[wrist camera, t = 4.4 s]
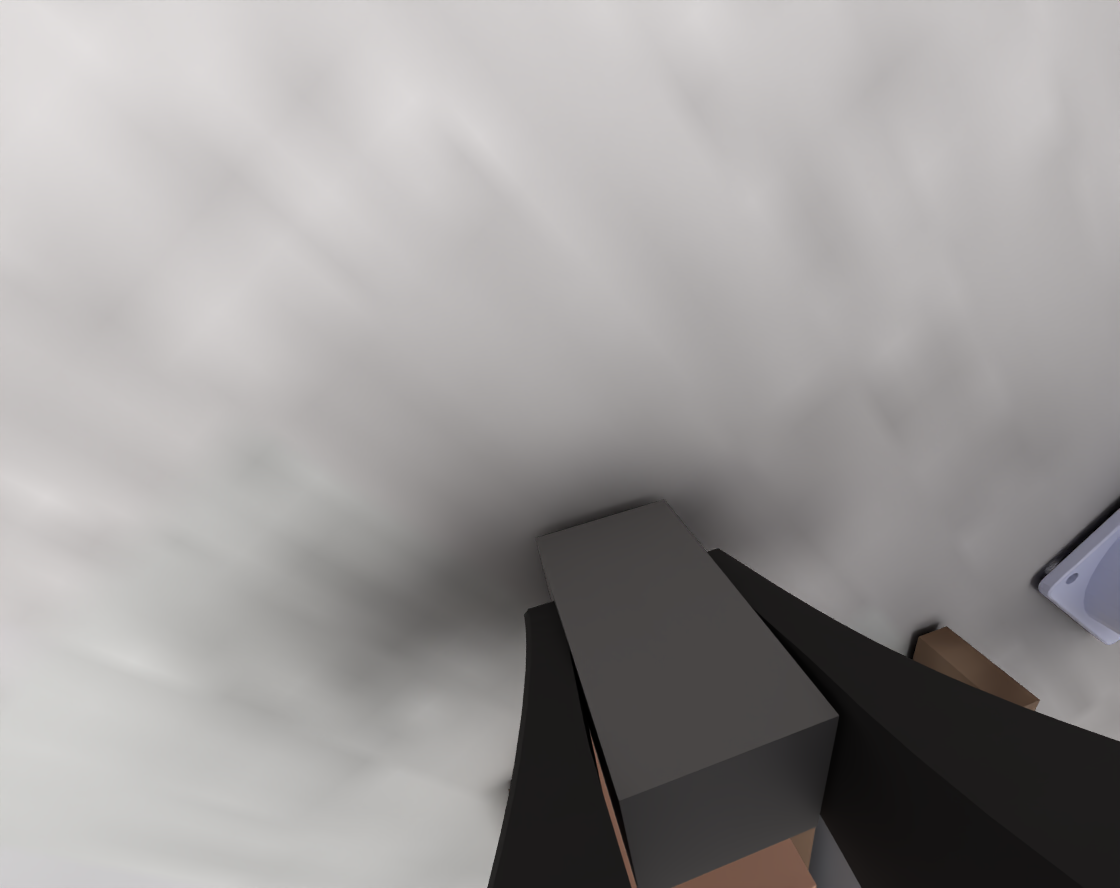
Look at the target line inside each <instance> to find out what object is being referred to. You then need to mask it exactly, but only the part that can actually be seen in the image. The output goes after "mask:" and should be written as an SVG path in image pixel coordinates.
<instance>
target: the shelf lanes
mask: <svg viewBox="0 0 1120 888" xmlns="http://www.w3.org/2000/svg"><path fill="white" fill-rule="evenodd" d="M913 660H914V661H916V662H919V663H921V664H923V665H925V666H927V667H929V668H931V669H934V670H936V671H938V672H940V673H942V674H945V675H947V676H949V677H952V678H954V679H956V680H959V681H961V682H963V683H965V684H968V685H970V686H973V687H975V688H978V689H980V690H983V691H985V692H988V693H990V694H993V695H995V696H998V697H1000V698H1003V699H1005V700H1008V701H1010V702H1013V703H1015V704H1018V705H1020V706H1022V707H1025V708H1028V709H1030V710H1033V711H1035V709H1036V707H1037V705H1038V703H1039V701H1040V700H1039V699H1038V698H1037V697H1035V696H1034V695H1033V694H1032V693H1030V692H1029V691H1028V690H1027V689H1025V688H1024V687H1023V686H1022V685H1020V684H1019V683H1018V682H1016V681H1015V680H1014V679H1013V678H1011V677H1010V676H1009V675H1008V674H1006V673H1005V672H1004V671H1003V670H1001V669H1000V668H999V667H997V666H996V665H995V664H994V663H992V662H991V661H990V660H989V659H987V658H986V657H985V656H984V655H982V654H981V653H980V652H978V651H977V650H976V649H975V648H973V647H972V646H971V645H970V644H968V643H967V642H966V641H965V640H963V639H962V638H961V637H960V636H958V635H957V634H956V633H954V632H953V631H952V630H951V629H949V628H948V627H947V626H946V627H943V628H941V629H938V630H935V631H933V632H930V633H927V634H925V635H922V636H919V638H918V641H917V645H916V649H915V652H914V656H913ZM508 790H509V791H510V789H508ZM815 828H816V827H815ZM815 828H812V829H810V830H807V831H805V832H803V833H800V834H798V835H796V836H793V837H791V838H790V839H791V841H792V843H793V845H794V846H795V848H796V850H797V852H798V853H799V855H800V857H801V859H802V860H803V862H804V864H805V866H806V867H807V869H809V863H810V857H811V851H812V845H813V840H814V834H815Z"/></svg>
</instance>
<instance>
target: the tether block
mask: <svg viewBox="0 0 1120 888" xmlns="http://www.w3.org/2000/svg"><path fill="white" fill-rule="evenodd" d="M536 542H537V546H538V550H539V554H540V558H541V562H542V566H543V570H544V574H545V578H546V582H547V586H548V589H549V593H550V597H551V601H554V602H555V605H556V608H557V611H558V614H559V617H560V620H561V623H562V626H563V629H564V632H565V635H566V638H567V641H568V645H569V649H570V653H571V657H572V661H573V665H574V669H575V673H576V677H577V681H578V685H579V689H580V693H581V697H582V702H583V706H584V710H585V714H586V718H587V722H588V726H589V730H590V735H591V740H592V744H593V749H594V754H595V758H596V763H597V768H598V772H599V777H600V782H601V786H602V791H603V794H604V798H605V801H606V804H607V808H608V811H609V814H610V818H611V821H612V824H613V828H614V831H615V834H616V838H617V841H618V844H619V847H620V851H621V854H622V857H623V861H624V864H625V867H626V871H627V874H628V877H629V881H630V884H631V887H632V888H816V886H817V885H816V883H815V881H814V880H813V878H812V876H811V874H810V873H809V871H808V869H807V867H806V866H805V864H804V862H803V860H802V859H801V857H800V855H799V853H798V852H797V850H796V848H795V846H794V845H793V843H792V841H791V839H790V838H791V837H793V836H796V835H798V834H800V833H803V832H805V831H807V830H810V829H812V828H815V827H817V826H818V821H819V816H820V811H821V806H822V801H823V796H824V791H825V786H826V781H827V775H828V770H829V765H830V760H831V755H832V750H833V745H834V740H835V735H836V730H837V725H838V720H839V715H838V713H837V712H836V711H835V710H834V708H833V707H832V706H831V705H830V703H829V702H828V701H827V700H826V698H825V697H824V696H823V695H822V694H821V692H820V691H819V690H818V689H817V687H816V686H815V685H814V684H813V682H812V681H811V680H810V679H809V678H808V676H807V675H806V674H805V673H804V671H803V670H802V669H801V668H800V666H799V665H798V664H797V663H796V662H795V660H794V659H793V658H792V657H791V655H790V654H789V653H788V652H787V650H786V649H785V648H784V647H783V645H782V644H781V643H780V642H779V641H778V639H777V638H776V637H775V636H774V634H773V633H772V632H771V631H770V629H769V628H768V627H767V626H766V625H765V623H764V622H763V621H762V620H761V618H760V617H759V616H758V615H757V613H756V612H755V611H754V610H753V609H752V607H751V606H750V605H749V604H748V602H747V601H746V600H745V599H744V597H743V596H742V595H741V594H740V592H739V591H738V590H737V589H736V588H735V586H734V585H733V584H732V583H731V581H730V580H729V579H728V578H727V576H726V575H725V574H724V573H723V572H722V570H721V569H720V568H719V567H718V565H717V564H716V563H715V562H714V560H713V559H712V558H711V557H710V556H709V554H708V553H707V552H706V551H705V549H704V548H703V547H702V546H701V544H700V543H699V542H698V541H697V540H696V538H695V537H694V536H693V535H692V533H691V532H690V531H689V530H688V528H687V527H686V526H685V525H684V523H683V522H682V521H681V520H680V519H679V517H678V516H677V515H676V514H675V512H674V511H673V510H672V509H671V507H670V506H669V505H668V504H667V503H666V501H665V500H661V501H657V502H654V503H651V504H647V505H644V506H641V507H637V508H634V509H631V510H627V511H624V512H621V513H617V514H614V515H611V516H607V517H604V518H601V519H597V520H594V521H591V522H587V523H584V524H581V525H577V526H574V527H571V528H567V529H564V530H561V531H557V532H554V533H551V534H547V535H544V536H541V537H537V538H536Z"/></svg>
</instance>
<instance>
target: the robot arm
mask: <svg viewBox="0 0 1120 888" xmlns="http://www.w3.org/2000/svg"><path fill="white" fill-rule="evenodd" d="M707 553H708V554H709V556H710V557H711V558H712V559H713V560H714V562H715V563H716V564H717V565H718V567H719V568H720V569H721V570H722V572H723V573H724V574H725V575H726V576H727V578H728V579H729V580H730V581H731V583H732V584H733V585H734V586H735V588H736V589H737V590H738V591H739V592H740V594H741V595H742V596H743V597H744V599H745V600H746V601H747V602H748V604H749V605H750V606H751V607H752V609H753V610H754V611H755V612H756V613H757V615H758V616H759V617H760V618H761V620H762V621H763V622H764V623H765V625H766V626H767V627H768V628H769V629H770V631H771V632H772V633H773V634H774V636H775V637H776V638H777V639H778V641H779V642H780V643H781V644H782V645H783V647H784V648H785V649H786V650H787V652H788V653H789V654H790V655H791V657H792V658H793V659H794V660H795V662H796V663H797V664H798V665H799V666H800V668H801V669H802V670H803V671H804V673H805V674H806V675H807V676H808V678H809V679H810V680H811V681H812V682H813V684H814V685H815V686H816V687H817V689H818V690H819V691H820V692H821V694H822V695H823V696H824V697H825V698H826V700H827V701H828V702H829V703H830V705H831V706H832V707H833V708H834V710H835V711H836V712H837V713H838V715H839V720H838V725H837V730H836V735H835V740H834V745H833V750H832V755H831V760H830V765H829V770H828V775H827V781H826V786H825V791H824V796H823V801H822V806H821V811H820V816H821V817H822V819H823V821H824V822H825V824H826V826H827V828H828V829H829V831H830V833H831V835H832V836H833V838H834V840H835V842H836V843H837V845H838V847H839V849H840V851H841V852H842V854H843V856H844V858H845V859H846V861H847V863H848V865H849V867H850V868H851V870H852V872H853V874H854V876H855V877H856V879H857V881H858V883H859V885H860V886H861V888H1120V741H1117V740H1114V739H1111V738H1108V737H1105V736H1102V735H1100V734H1097V733H1094V732H1091V731H1088V730H1085V729H1082V728H1080V727H1077V726H1074V725H1071V724H1068V723H1065V722H1063V721H1060V720H1057V719H1054V718H1052V717H1049V716H1046V715H1044V714H1041V713H1038V712H1036V711H1033V710H1030V709H1028V708H1025V707H1022V706H1020V705H1018V704H1015V703H1013V702H1010V701H1008V700H1005V699H1003V698H1000V697H998V696H995V695H993V694H990V693H988V692H985V691H983V690H980V689H978V688H975V687H973V686H970V685H968V684H965V683H963V682H961V681H959V680H956V679H954V678H952V677H949V676H947V675H945V674H942V673H940V672H938V671H936V670H934V669H931V668H929V667H927V666H925V665H923V664H921V663H919V662H916V661H914V660H912V659H910V658H908V657H906V656H904V655H901V654H899V653H897V652H895V651H893V650H891V649H889V648H887V647H885V646H883V645H881V644H879V643H877V642H875V641H873V640H871V639H869V638H867V637H865V636H864V635H862V634H860V633H858V632H856V631H854V630H852V629H851V628H849V627H847V626H845V625H843V624H841V623H839V622H838V621H836V620H834V619H832V618H831V617H829V616H827V615H825V614H824V613H822V612H820V611H818V610H817V609H815V608H813V607H812V606H810V605H808V604H807V603H805V602H803V601H802V600H800V599H798V598H796V597H795V596H793V595H791V594H790V593H788V592H787V591H785V590H783V589H782V588H780V587H778V586H777V585H775V584H774V583H772V582H770V581H769V580H767V579H766V578H764V577H762V576H761V575H759V574H758V573H756V572H755V571H753V570H752V569H750V568H748V567H747V566H745V565H744V564H742V563H741V562H739V561H737V560H736V559H734V558H733V557H731V556H730V555H728V554H726V553H725V552H723V551H722V550H720V549H715V550H711V551H708V552H707ZM1038 589H1039V592H1041V593H1042V594H1043V595H1044V596H1045V597H1047V598H1048V599H1049V600H1050V601H1052V602H1053V603H1054V604H1055V605H1057V606H1058V607H1059V608H1060V609H1061V610H1063V611H1064V612H1065V613H1066V614H1068V615H1069V616H1070V617H1071V618H1072V619H1074V620H1075V621H1076V622H1077V623H1079V624H1080V625H1081V626H1082V627H1083V628H1085V629H1086V630H1087V631H1088V632H1090V633H1091V634H1092V635H1093V636H1095V637H1096V638H1097V639H1099V640H1100V641H1102V642H1103V643H1105V644H1109V645H1110V644H1113V643H1115V642H1117V641H1118V640H1120V508H1119V509H1118V510H1117V511H1116V512H1115V513H1114V514H1113V515H1112V516H1111V517H1110V518H1108V519H1107V520H1106V521H1105V522H1104V523H1103V524H1102V525H1101V526H1100V527H1099V528H1098V529H1096V530H1095V531H1094V532H1093V533H1092V534H1091V535H1090V536H1089V537H1088V538H1087V539H1086V540H1085V541H1083V542H1082V543H1081V544H1080V545H1079V546H1078V547H1077V548H1076V549H1075V550H1074V551H1073V552H1071V553H1070V554H1069V555H1068V556H1067V557H1066V558H1065V559H1064V560H1063V561H1062V562H1061V563H1059V564H1058V565H1057V566H1056V567H1055V568H1054V569H1053V570H1052V571H1051V572H1050V573H1049V574H1048V575H1046V576H1045V577H1044V578H1043V579H1042V581H1041V582H1040V584H1039V586H1038ZM524 617H525V624H526V672H525V684H524V695H523V707H522V715H521V723H520V729H519V736H518V743H517V750H516V757H515V763H514V769H513V775H512V780H511V786H510V791H509V796H508V801H507V806H506V810H505V815H504V820H503V825H502V829H501V834H500V838H499V842H498V846H497V850H496V855H495V859H494V863H493V867H492V871H491V875H490V879H489V884H488V887H487V888H632V887H631V884H630V881H629V877H628V874H627V871H626V867H625V864H624V861H623V857H622V854H621V851H620V847H619V844H618V841H617V838H616V834H615V831H614V828H613V824H612V821H611V818H610V814H609V811H608V808H607V804H606V801H605V798H604V794H603V791H602V786H601V782H600V777H599V772H598V768H597V763H596V758H595V754H594V749H593V744H592V740H591V735H590V730H589V726H588V722H587V718H586V714H585V710H584V706H583V702H582V697H581V693H580V689H579V685H578V681H577V677H576V673H575V669H574V665H573V661H572V657H571V653H570V649H569V645H568V641H567V638H566V635H565V632H564V629H563V626H562V623H561V620H560V617H559V614H558V611H557V608H556V605H555V602H554V601H552V602H549V603H546V604H543V605H540V606H537V607H534V608H530V609H528V610H527V612H526V613H525V614H524Z"/></svg>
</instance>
